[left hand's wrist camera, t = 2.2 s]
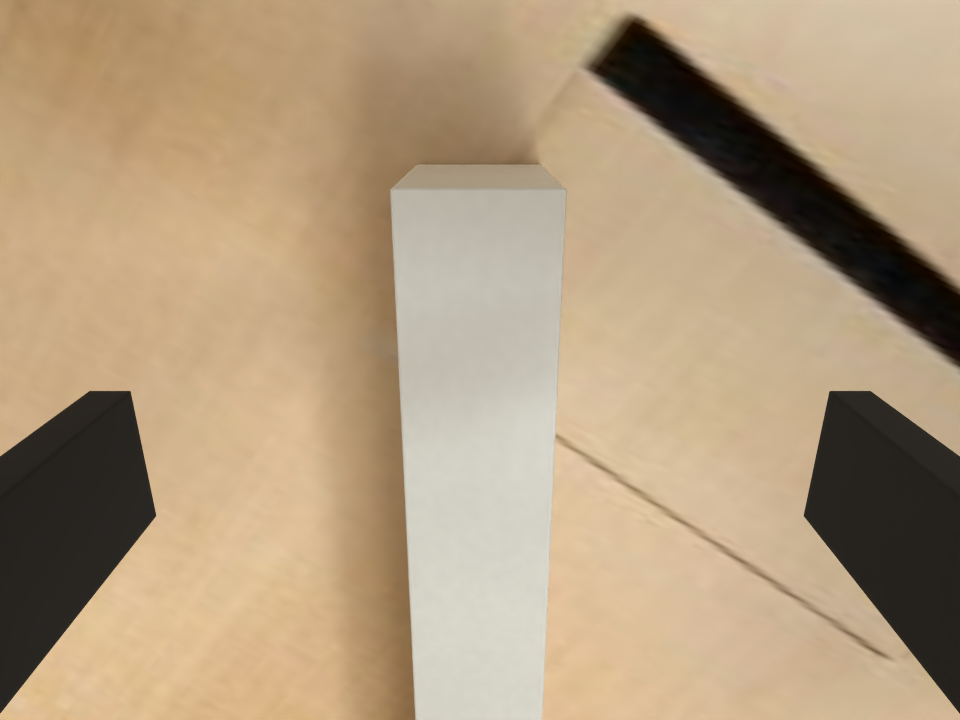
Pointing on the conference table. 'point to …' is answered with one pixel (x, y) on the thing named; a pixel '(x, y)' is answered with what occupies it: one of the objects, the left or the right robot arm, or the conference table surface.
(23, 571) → the left robot arm
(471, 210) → the bar
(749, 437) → the conference table surface
